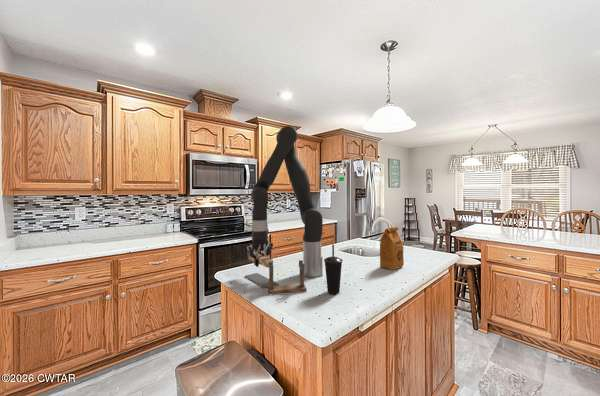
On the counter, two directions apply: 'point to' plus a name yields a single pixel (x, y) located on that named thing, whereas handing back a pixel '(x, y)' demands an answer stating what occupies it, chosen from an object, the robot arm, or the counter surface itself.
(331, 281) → the drinking cup
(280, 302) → the counter surface
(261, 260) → the rail
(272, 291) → the rack
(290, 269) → the counter surface
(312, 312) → the counter surface
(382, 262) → the coffee package
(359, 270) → the counter surface
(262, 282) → the grey flat plank
